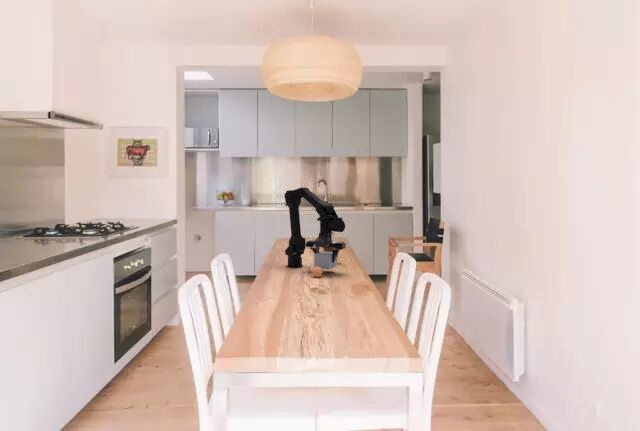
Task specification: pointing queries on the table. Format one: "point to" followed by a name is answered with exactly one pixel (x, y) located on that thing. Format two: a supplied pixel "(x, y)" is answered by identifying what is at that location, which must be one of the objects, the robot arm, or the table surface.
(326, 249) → the disposable coffee cup
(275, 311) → the table surface
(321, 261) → the grey rectangular block
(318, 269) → the ball
